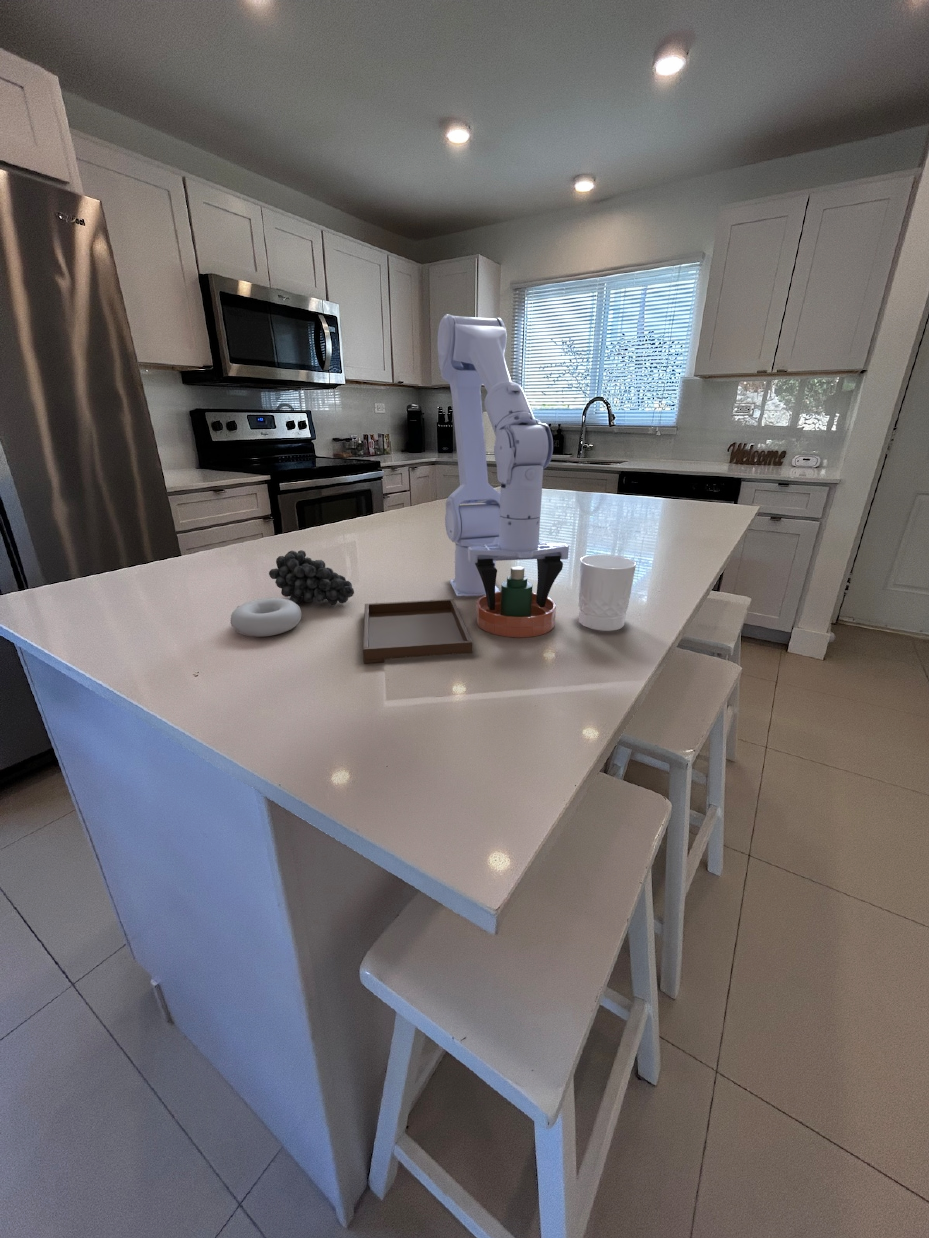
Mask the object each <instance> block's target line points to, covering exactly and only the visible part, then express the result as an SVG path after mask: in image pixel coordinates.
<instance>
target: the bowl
mask: <svg viewBox="0 0 929 1238" xmlns="http://www.w3.org/2000/svg"><path fill="white" fill-rule="evenodd" d="M499 591H500V592H495V610H490V609H489V607H488V605H487V597H486V595H481V597H479V598H478V599H477V601H476V607H475V616H476V617H475V622H476V624H477V626H478V627H479V628H480V629H481V630H483V631H485V632H487V633H490V634H493V635H496V636H502V637H506V638H508V637H509V638H530V637H531V638H532V637H537V636H541V635H546V634H547V633H549V632H551V631H552V630H553V628H554V627H555V625H556V624H555V623H556V612H557V604H556V602H555V601H554V600H553V599H552V598H550V597H549V596H548V597H547V600H546V603H545V607H540V606H539V605H538V604H537V603H536V594H537V592H532V603H531V616H530V617H510V616H503V615H500V611H501V590H499Z"/></svg>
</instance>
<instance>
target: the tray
mask: <svg viewBox="0 0 929 1238" xmlns="http://www.w3.org/2000/svg"><path fill="white" fill-rule="evenodd" d="M363 614H364V616H363V637H362V639H363V640H362V655H363V664H374V663H385V660H389V659H403V658H416V657H417V658H418V657H419V658H420V657H431V656H432V657H434V656H447V655H448V656H449V655H461V654H472V653H473V645H474V643H473V640H472V638H471V636H470V633H469V631H468V628H467V627H466V624H465V622H464V620H463V617H462V614H460V611H459V608H458V607H457V604H456V601H455V599H454V598H448V599H447V598H446V599H445V598H444V599H430V600H429V599H427V600H426V599H425V600H408V601H389V602H370V603H364V613H363Z"/></svg>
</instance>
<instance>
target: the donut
mask: <svg viewBox="0 0 929 1238" xmlns="http://www.w3.org/2000/svg"><path fill="white" fill-rule="evenodd" d="M301 620H302V610H301V607H300V606H299V605H298V604H296V603H294V602H293V601H291V600H290V599H287V598H280V597H267V598H259V599H254V600H250V601H248V602H245V603H243V604H241V605H238V606H237V607H236V608H235V609H234V610H233V611H232V613H231V615H230V625H231V627H232V628H233V629H234V630H235V631H236V632H237V633H239V634H241V635H243V636H247V637H255V638H261V637H263V638H265V637H271V636H276V635H280V634H283V633H286V632H288V631H290V630H292V629H294V628H296V627H297V625H298V624H299V623H300V621H301Z"/></svg>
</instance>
